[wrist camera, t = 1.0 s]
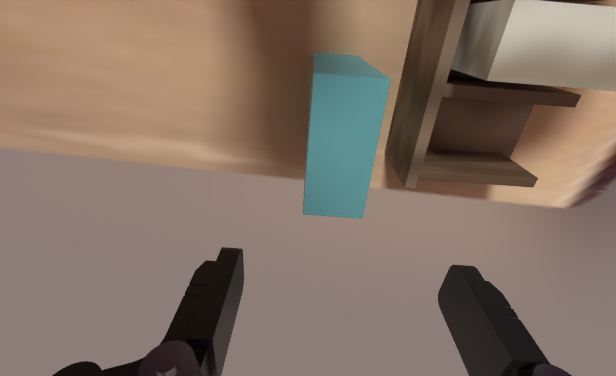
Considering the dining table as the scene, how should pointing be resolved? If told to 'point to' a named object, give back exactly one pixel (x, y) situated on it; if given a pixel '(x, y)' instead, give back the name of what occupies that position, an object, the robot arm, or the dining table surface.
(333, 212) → the teal book
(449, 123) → the book rack
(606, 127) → the dining table surface
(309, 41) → the dining table surface
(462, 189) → the dining table surface
